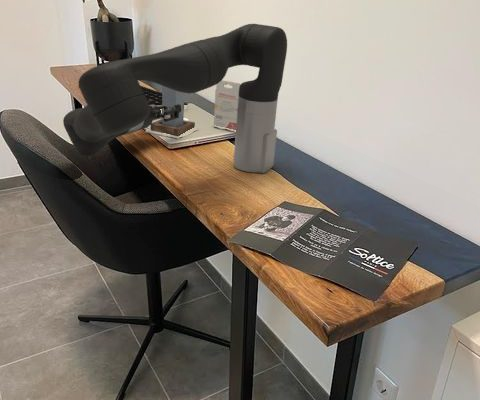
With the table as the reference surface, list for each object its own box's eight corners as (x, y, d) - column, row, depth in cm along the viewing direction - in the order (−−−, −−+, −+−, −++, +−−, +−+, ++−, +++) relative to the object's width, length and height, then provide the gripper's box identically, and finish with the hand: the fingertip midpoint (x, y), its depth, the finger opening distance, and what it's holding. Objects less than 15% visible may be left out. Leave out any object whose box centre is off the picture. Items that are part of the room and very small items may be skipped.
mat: (199, 129, 146) (199, 128, 146) (178, 139, 136) (178, 138, 136) (167, 123, 150) (168, 121, 150) (145, 132, 140) (145, 130, 140)
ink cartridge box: (244, 129, 150) (249, 81, 144) (237, 133, 146) (241, 83, 140) (220, 124, 154) (223, 77, 148) (212, 127, 150) (215, 79, 144)
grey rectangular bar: (183, 129, 144) (184, 81, 138) (175, 132, 140) (176, 83, 135) (170, 126, 146) (170, 79, 140) (161, 129, 142) (162, 81, 136)
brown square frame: (194, 128, 145) (194, 122, 145) (178, 136, 138) (178, 129, 137) (168, 123, 149) (168, 116, 148) (150, 130, 141) (150, 123, 140)
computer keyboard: (187, 111, 168) (187, 99, 166) (149, 117, 157) (149, 105, 155) (115, 85, 195) (115, 75, 194) (78, 88, 185) (78, 78, 183)
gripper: (109, 126, 127) (146, 114, 141) (154, 136, 122) (188, 123, 135) (107, 98, 124) (145, 88, 138) (153, 107, 119) (189, 96, 132)
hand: (167, 105), depth 136 cm, fingers open, 8 cm apart
